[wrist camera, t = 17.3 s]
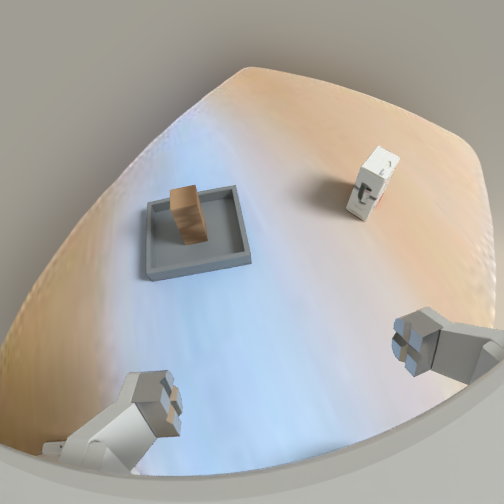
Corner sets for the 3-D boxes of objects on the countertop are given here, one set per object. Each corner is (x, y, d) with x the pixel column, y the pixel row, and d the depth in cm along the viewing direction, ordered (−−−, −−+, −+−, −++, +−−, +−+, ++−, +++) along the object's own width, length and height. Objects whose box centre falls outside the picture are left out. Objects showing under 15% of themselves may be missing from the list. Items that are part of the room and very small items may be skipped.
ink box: (362, 185, 54) (378, 143, 44) (381, 197, 52) (401, 156, 42) (344, 209, 51) (360, 165, 41) (365, 223, 49) (385, 180, 39)
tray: (152, 281, 45) (146, 274, 42) (152, 212, 52) (147, 202, 49) (251, 263, 46) (250, 254, 43) (236, 195, 53) (235, 185, 50)
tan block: (185, 245, 47) (170, 210, 38) (184, 226, 49) (169, 190, 40) (208, 241, 47) (197, 204, 39) (205, 222, 49) (195, 184, 41)
